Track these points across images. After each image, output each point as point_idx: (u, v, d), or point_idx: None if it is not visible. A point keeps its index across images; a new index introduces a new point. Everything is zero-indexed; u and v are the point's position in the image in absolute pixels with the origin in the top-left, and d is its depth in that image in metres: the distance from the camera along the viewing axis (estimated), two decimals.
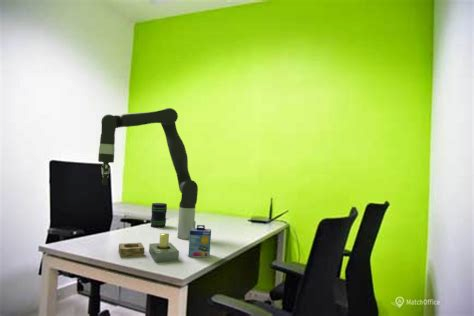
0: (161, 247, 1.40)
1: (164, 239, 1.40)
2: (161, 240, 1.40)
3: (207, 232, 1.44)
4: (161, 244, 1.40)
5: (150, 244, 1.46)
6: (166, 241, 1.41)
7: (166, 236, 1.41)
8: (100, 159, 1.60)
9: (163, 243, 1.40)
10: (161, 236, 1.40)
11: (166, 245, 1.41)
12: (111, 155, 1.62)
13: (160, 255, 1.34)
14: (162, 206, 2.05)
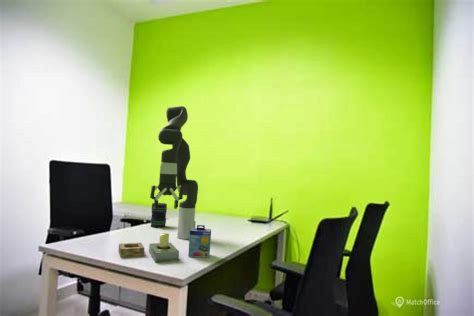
0: (161, 247, 1.40)
1: (164, 239, 1.40)
2: (161, 240, 1.40)
3: (207, 232, 1.44)
4: (161, 244, 1.40)
5: (150, 244, 1.46)
6: (166, 241, 1.41)
7: (166, 236, 1.41)
8: (174, 180, 1.41)
9: (163, 243, 1.40)
10: (161, 236, 1.40)
11: (166, 245, 1.41)
12: None
13: (160, 255, 1.34)
14: (162, 206, 2.05)
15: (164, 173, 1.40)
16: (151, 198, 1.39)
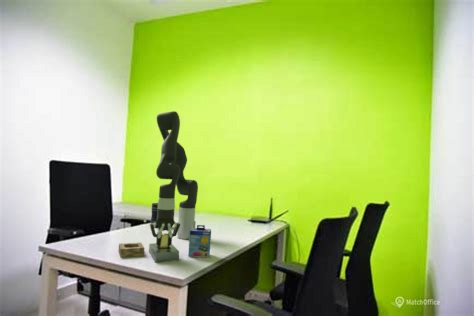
0: (161, 247, 1.40)
1: (164, 239, 1.40)
2: (161, 240, 1.40)
3: (207, 232, 1.44)
4: (161, 244, 1.40)
5: (150, 244, 1.46)
6: (166, 241, 1.41)
7: (166, 236, 1.41)
8: (172, 216, 1.41)
9: (163, 243, 1.40)
10: (161, 236, 1.40)
11: (166, 245, 1.41)
12: None
13: (160, 255, 1.34)
14: None
15: (162, 209, 1.39)
16: None
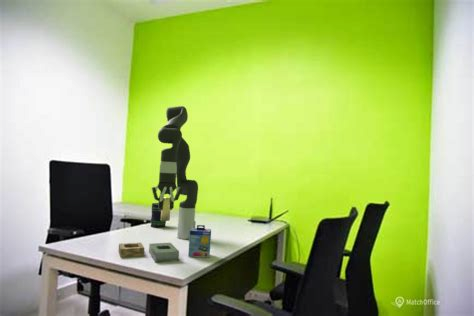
0: (163, 210, 1.41)
1: (166, 202, 1.41)
2: (163, 203, 1.41)
3: (207, 232, 1.44)
4: (163, 207, 1.41)
5: (150, 244, 1.46)
6: (168, 205, 1.41)
7: (168, 200, 1.41)
8: (174, 179, 1.41)
9: (165, 206, 1.41)
10: (163, 199, 1.41)
11: (168, 208, 1.41)
12: None
13: (160, 255, 1.34)
14: None
15: (164, 172, 1.40)
16: (155, 199, 1.40)
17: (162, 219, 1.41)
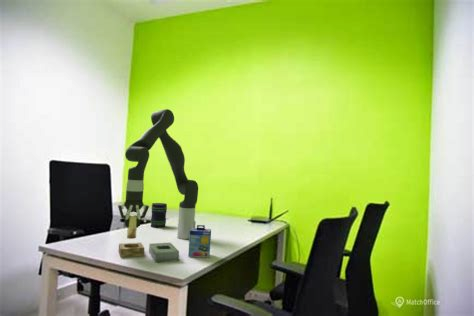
0: (129, 228, 1.42)
1: (132, 220, 1.42)
2: (129, 221, 1.42)
3: (207, 232, 1.44)
4: (129, 225, 1.42)
5: (150, 244, 1.46)
6: (134, 222, 1.43)
7: (134, 217, 1.43)
8: (140, 197, 1.43)
9: (131, 224, 1.42)
10: (129, 217, 1.42)
11: (134, 226, 1.43)
12: None
13: (160, 255, 1.34)
14: (162, 206, 2.05)
15: (130, 191, 1.41)
16: (121, 217, 1.41)
17: (128, 237, 1.42)
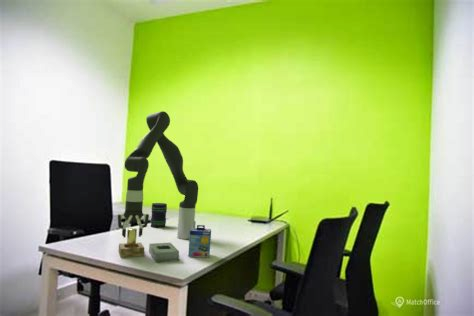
0: (128, 242, 1.42)
1: (131, 234, 1.42)
2: (128, 235, 1.42)
3: (207, 232, 1.44)
4: (128, 239, 1.42)
5: (150, 244, 1.46)
6: (133, 236, 1.42)
7: (133, 231, 1.42)
8: (140, 208, 1.43)
9: (130, 238, 1.42)
10: (128, 231, 1.42)
11: (133, 240, 1.43)
12: None
13: (160, 255, 1.34)
14: (162, 206, 2.05)
15: (129, 201, 1.41)
16: None
17: None
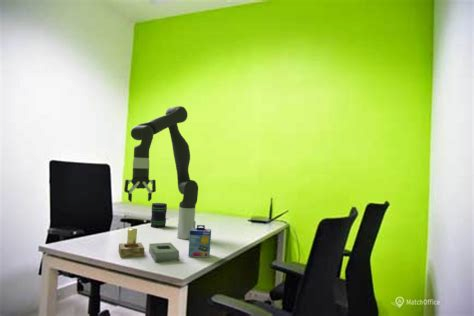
0: (129, 242, 1.42)
1: (131, 234, 1.42)
2: (129, 235, 1.42)
3: (207, 232, 1.44)
4: (129, 239, 1.42)
5: (150, 244, 1.46)
6: (134, 236, 1.43)
7: (134, 231, 1.42)
8: (146, 174, 1.49)
9: (131, 238, 1.42)
10: (129, 231, 1.42)
11: (134, 240, 1.43)
12: None
13: (160, 255, 1.34)
14: (162, 206, 2.05)
15: (136, 168, 1.47)
16: (125, 191, 1.46)
17: None
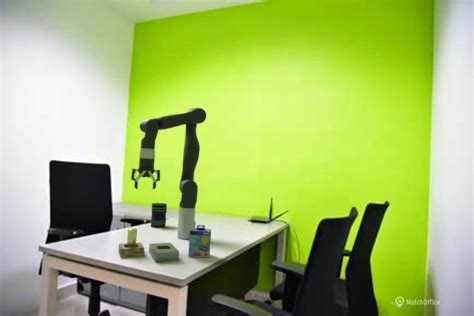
0: (129, 242, 1.42)
1: (131, 234, 1.42)
2: (129, 235, 1.42)
3: (207, 232, 1.44)
4: (129, 239, 1.42)
5: (150, 244, 1.46)
6: (134, 236, 1.43)
7: (134, 231, 1.42)
8: (152, 164, 1.61)
9: (131, 238, 1.42)
10: (129, 231, 1.42)
11: (134, 240, 1.43)
12: None
13: (160, 255, 1.34)
14: (162, 206, 2.05)
15: (143, 158, 1.59)
16: (131, 179, 1.58)
17: None
